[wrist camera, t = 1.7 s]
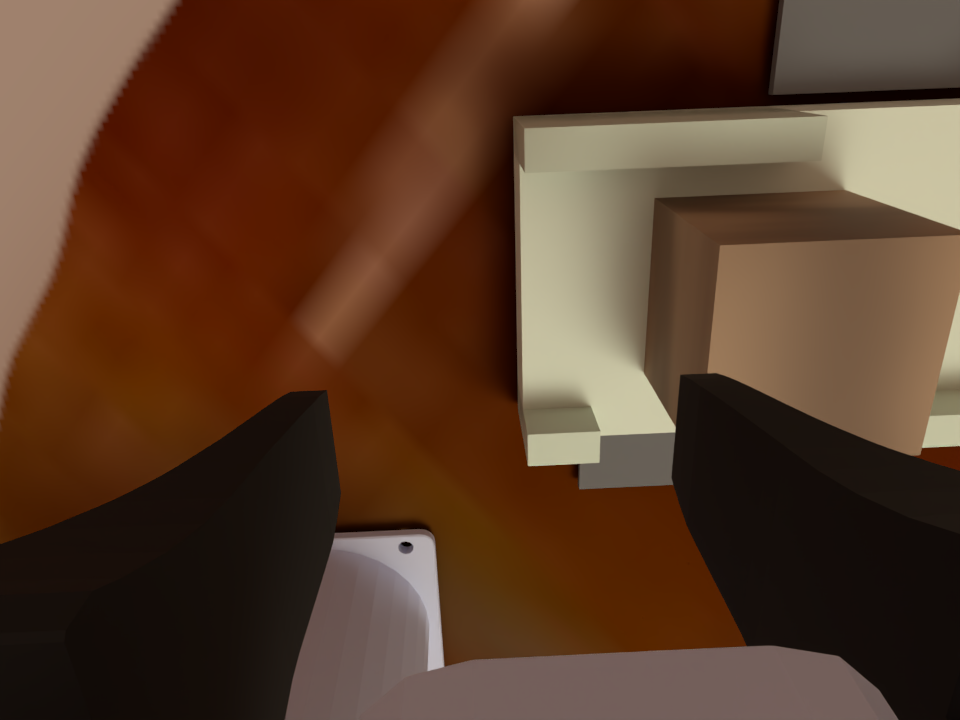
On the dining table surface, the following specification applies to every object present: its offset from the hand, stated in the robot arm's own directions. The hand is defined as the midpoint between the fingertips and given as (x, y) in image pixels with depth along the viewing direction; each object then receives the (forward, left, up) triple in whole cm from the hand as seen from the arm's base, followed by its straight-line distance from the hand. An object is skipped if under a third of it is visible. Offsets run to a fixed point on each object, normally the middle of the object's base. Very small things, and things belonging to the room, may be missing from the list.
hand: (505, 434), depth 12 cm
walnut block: (+7, 0, -8) cm, 10 cm away
